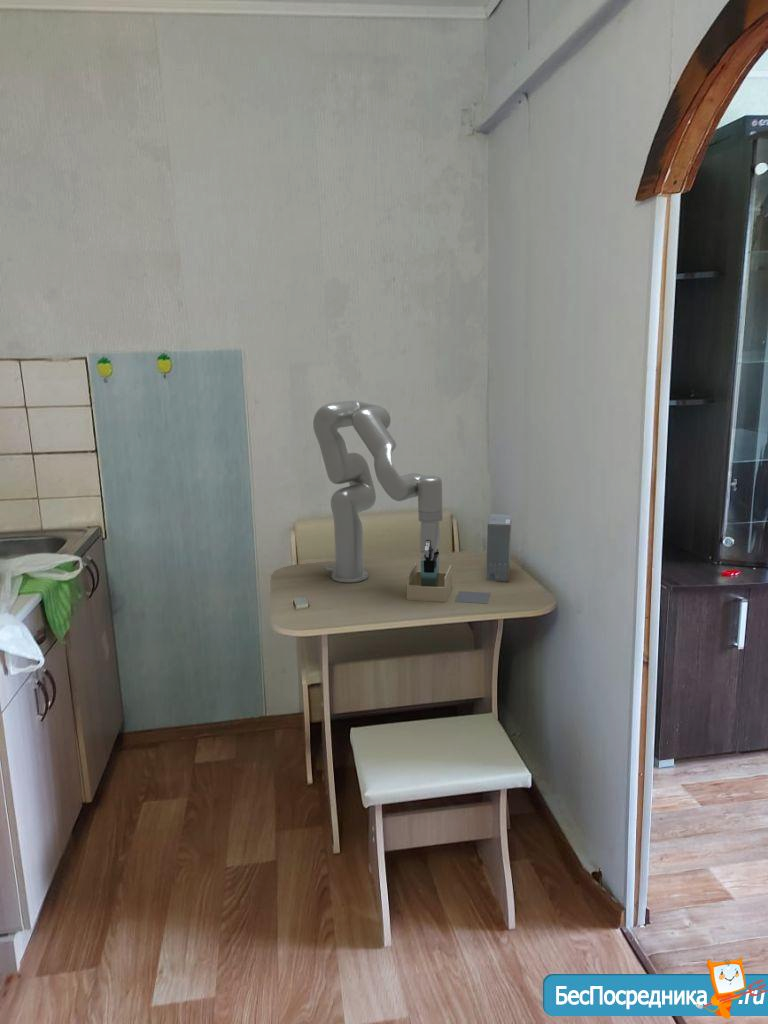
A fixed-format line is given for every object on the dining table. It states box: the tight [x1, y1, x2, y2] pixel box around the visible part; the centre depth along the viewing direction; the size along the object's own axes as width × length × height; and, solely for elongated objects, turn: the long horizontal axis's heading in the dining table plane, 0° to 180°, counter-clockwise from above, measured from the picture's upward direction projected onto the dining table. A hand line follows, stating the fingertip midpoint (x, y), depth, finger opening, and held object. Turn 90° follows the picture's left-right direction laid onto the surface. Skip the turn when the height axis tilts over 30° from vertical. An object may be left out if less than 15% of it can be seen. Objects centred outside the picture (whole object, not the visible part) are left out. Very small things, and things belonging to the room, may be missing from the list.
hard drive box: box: [485, 513, 513, 582], centre depth 259 cm, size 16×8×20 cm, turn 168°
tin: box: [420, 553, 440, 587], centre depth 241 cm, size 5×5×12 cm
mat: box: [454, 590, 491, 605], centre depth 238 cm, size 10×10×1 cm
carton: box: [406, 562, 453, 603], centre depth 242 cm, size 12×15×8 cm
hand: (431, 567), depth 240 cm, fingers open, 9 cm apart
